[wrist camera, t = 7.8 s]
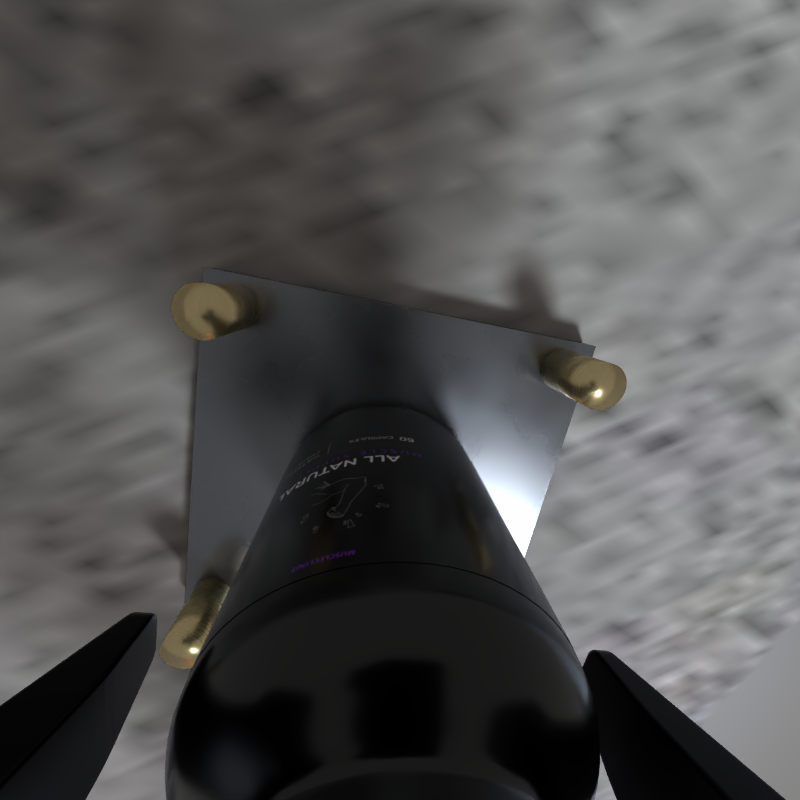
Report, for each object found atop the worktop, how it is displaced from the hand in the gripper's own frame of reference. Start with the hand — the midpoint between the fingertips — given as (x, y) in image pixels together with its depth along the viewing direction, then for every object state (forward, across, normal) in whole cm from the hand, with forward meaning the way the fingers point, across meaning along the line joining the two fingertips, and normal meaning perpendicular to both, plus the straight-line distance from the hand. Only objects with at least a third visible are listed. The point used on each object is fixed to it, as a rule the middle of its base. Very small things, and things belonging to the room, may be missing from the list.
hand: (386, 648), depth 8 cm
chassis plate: (+7, 0, 0) cm, 7 cm away
